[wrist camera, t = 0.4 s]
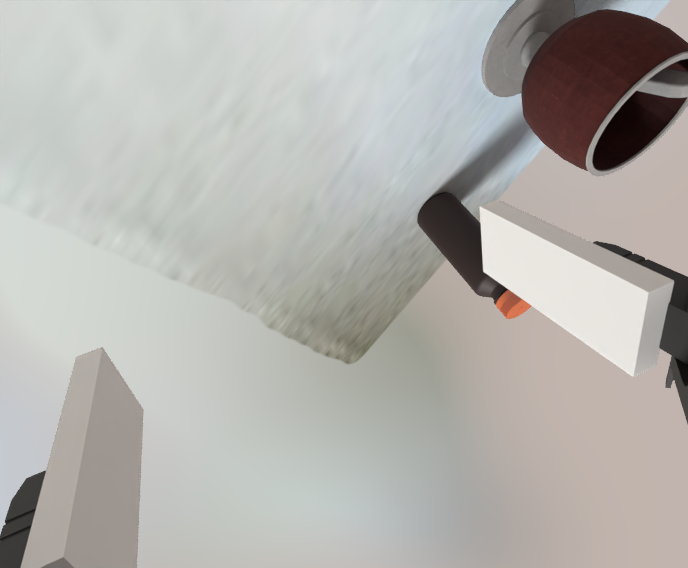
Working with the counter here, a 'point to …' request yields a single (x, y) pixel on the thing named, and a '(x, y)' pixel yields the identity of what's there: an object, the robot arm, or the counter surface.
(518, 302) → the bottle
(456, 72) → the counter surface
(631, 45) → the mate gourd
